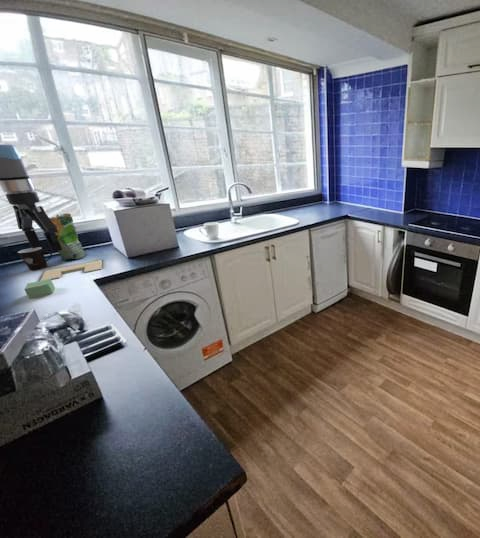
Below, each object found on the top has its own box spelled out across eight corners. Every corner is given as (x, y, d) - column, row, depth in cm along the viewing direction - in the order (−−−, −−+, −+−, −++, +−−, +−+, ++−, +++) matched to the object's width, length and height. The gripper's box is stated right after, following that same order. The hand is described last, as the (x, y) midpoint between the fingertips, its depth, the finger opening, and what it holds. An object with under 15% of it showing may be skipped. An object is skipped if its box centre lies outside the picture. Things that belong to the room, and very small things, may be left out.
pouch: (87, 253, 174) (69, 211, 164) (89, 257, 166) (71, 214, 156) (61, 258, 166) (41, 214, 157) (62, 263, 159) (41, 218, 149)
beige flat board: (40, 283, 135) (39, 281, 135) (45, 273, 147) (44, 270, 146) (101, 270, 148) (100, 268, 147) (102, 262, 159) (101, 260, 159)
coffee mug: (22, 270, 150) (12, 252, 146) (41, 264, 158) (33, 247, 154) (40, 272, 148) (31, 253, 144) (59, 265, 156) (51, 247, 152)
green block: (30, 301, 119) (24, 289, 117) (33, 295, 124) (27, 283, 122) (54, 295, 123) (48, 284, 121) (56, 290, 128) (50, 278, 126)
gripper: (54, 191, 102) (78, 249, 110) (16, 189, 111) (41, 243, 119) (25, 195, 96) (53, 255, 104) (-13, 192, 104) (16, 248, 112)
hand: (47, 249), depth 111 cm, fingers open, 13 cm apart
